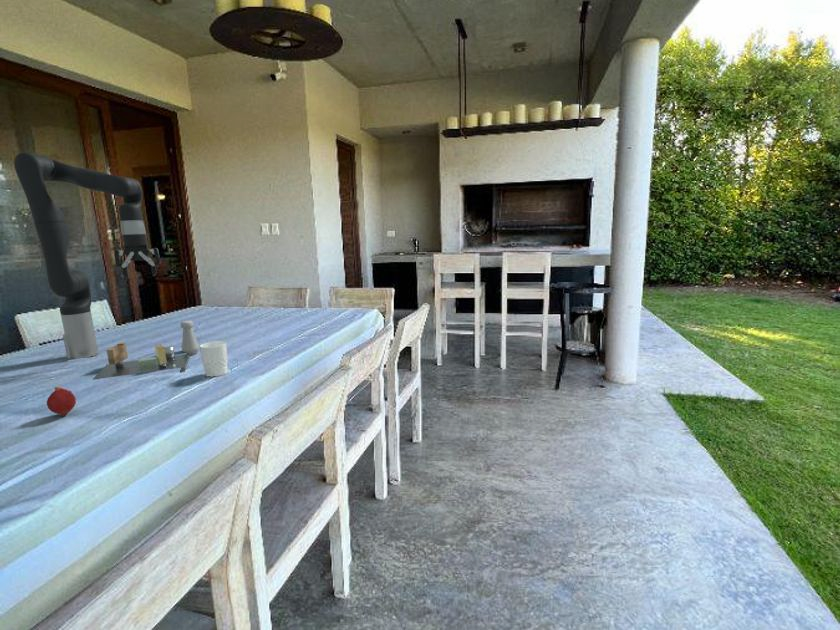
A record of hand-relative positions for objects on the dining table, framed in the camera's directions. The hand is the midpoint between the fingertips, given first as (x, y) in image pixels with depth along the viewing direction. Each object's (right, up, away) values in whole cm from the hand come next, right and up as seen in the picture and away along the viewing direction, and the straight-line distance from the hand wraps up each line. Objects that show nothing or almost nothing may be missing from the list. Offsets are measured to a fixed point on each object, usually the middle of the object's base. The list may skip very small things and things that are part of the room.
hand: (141, 276), depth 167 cm
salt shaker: (+17, -30, +3) cm, 35 cm away
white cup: (+39, -34, -21) cm, 56 cm away
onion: (+12, -41, -51) cm, 67 cm away
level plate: (+11, -33, -14) cm, 38 cm away
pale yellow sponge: (+18, -32, -17) cm, 41 cm away
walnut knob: (+2, -32, -15) cm, 36 cm away
